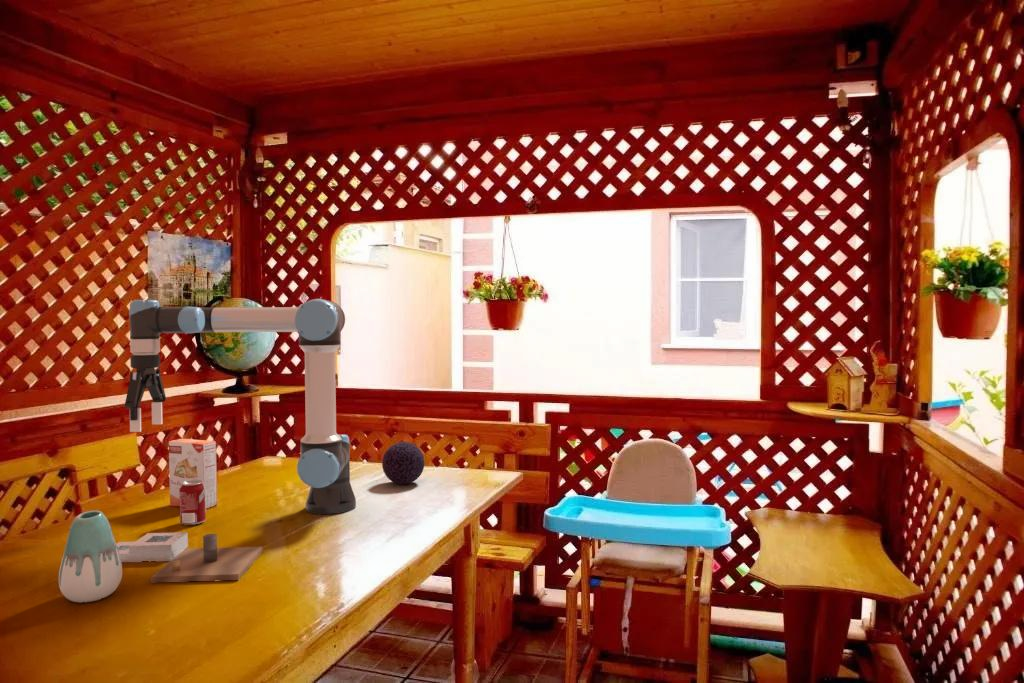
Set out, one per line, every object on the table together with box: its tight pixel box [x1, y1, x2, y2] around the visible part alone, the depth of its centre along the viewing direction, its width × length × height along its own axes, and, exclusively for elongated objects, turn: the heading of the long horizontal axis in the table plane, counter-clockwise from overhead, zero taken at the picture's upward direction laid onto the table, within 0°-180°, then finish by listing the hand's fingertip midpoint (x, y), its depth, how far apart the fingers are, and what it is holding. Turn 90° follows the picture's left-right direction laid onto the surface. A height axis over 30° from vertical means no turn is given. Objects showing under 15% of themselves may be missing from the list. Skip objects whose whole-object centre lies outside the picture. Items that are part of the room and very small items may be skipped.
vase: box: [58, 510, 123, 604], centre depth 147 cm, size 12×12×18 cm
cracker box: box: [168, 438, 218, 510], centre depth 218 cm, size 14×6×21 cm, turn 70°
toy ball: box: [381, 441, 426, 485], centre depth 247 cm, size 15×15×15 cm
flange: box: [116, 531, 189, 563], centre depth 173 cm, size 17×10×4 cm, turn 94°
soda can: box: [179, 480, 207, 526], centre depth 200 cm, size 7×7×12 cm
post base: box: [150, 533, 264, 584], centre depth 164 cm, size 19×19×8 cm
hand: (146, 428), depth 198 cm, fingers open, 13 cm apart
